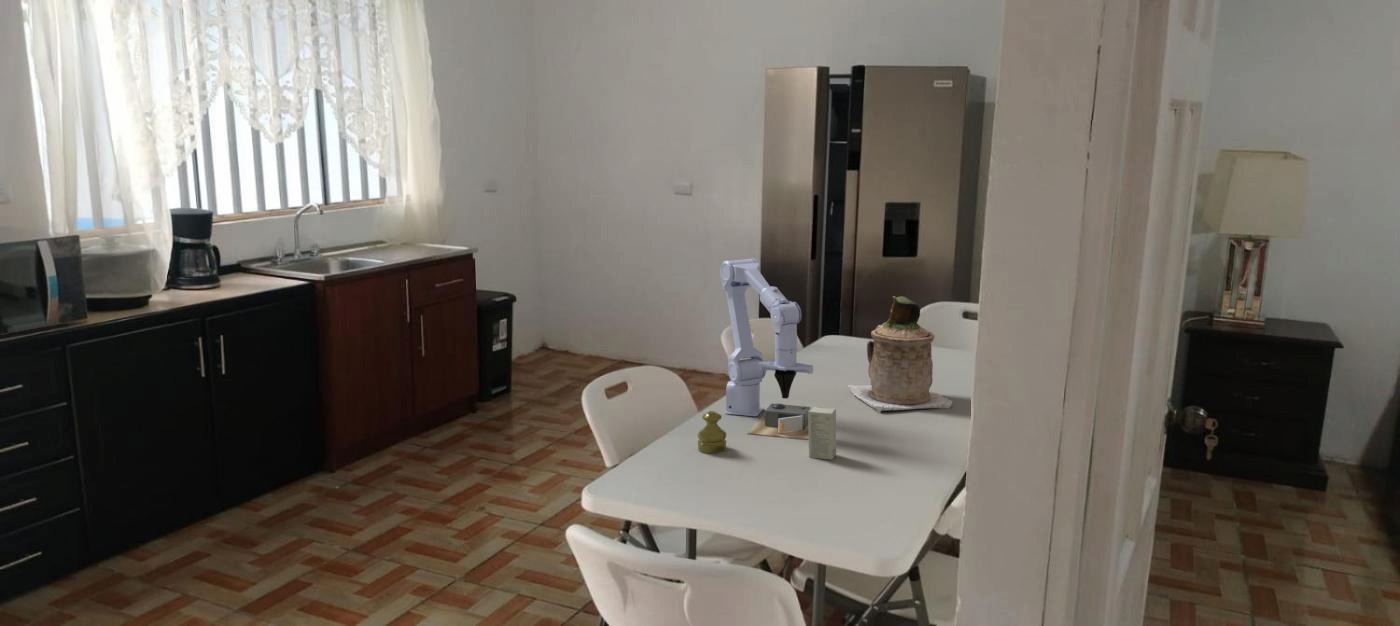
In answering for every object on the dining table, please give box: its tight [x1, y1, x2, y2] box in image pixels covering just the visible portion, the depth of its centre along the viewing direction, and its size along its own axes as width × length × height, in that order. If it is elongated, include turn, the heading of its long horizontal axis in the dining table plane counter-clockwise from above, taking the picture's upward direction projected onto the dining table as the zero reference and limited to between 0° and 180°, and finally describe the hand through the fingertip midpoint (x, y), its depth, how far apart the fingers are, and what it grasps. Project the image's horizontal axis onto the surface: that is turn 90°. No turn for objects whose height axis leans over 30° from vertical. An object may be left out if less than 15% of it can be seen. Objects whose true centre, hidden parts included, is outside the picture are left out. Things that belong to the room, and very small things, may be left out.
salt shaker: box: [697, 410, 727, 454], centre depth 248 cm, size 7×7×10 cm
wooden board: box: [747, 415, 809, 441], centre depth 265 cm, size 18×16×1 cm
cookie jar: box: [847, 295, 953, 414], centre depth 287 cm, size 25×25×32 cm
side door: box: [778, 415, 804, 433], centre depth 260 cm, size 7×2×4 cm, turn 111°
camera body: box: [764, 403, 811, 430], centre depth 267 cm, size 11×7×5 cm, turn 71°
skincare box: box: [808, 406, 837, 461], centre depth 242 cm, size 6×4×12 cm
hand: (785, 397), depth 261 cm, fingers closed
